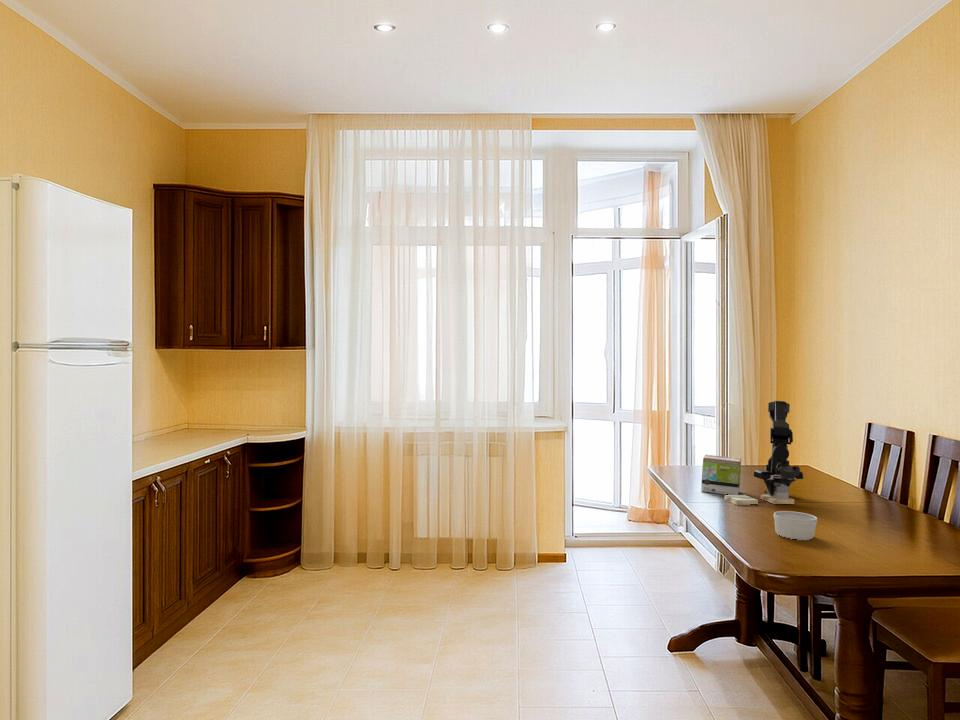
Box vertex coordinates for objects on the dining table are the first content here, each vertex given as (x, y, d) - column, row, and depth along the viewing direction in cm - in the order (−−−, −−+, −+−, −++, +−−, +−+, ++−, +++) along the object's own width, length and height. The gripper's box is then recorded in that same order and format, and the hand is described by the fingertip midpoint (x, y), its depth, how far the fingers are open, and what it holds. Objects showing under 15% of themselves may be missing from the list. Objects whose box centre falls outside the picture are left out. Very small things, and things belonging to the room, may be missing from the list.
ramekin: (766, 530, 243) (767, 509, 243) (806, 531, 243) (807, 511, 243) (781, 541, 230) (782, 519, 230) (823, 543, 230) (824, 521, 229)
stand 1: (724, 499, 288) (724, 495, 288) (744, 499, 290) (745, 494, 290) (736, 505, 279) (736, 500, 279) (757, 505, 281) (757, 499, 281)
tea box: (700, 492, 302) (702, 457, 301) (702, 488, 311) (704, 454, 310) (738, 496, 296) (740, 460, 295) (739, 491, 305) (741, 457, 305)
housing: (766, 495, 290) (767, 482, 290) (777, 495, 291) (778, 482, 291) (777, 499, 283) (777, 486, 283) (788, 499, 284) (789, 486, 284)
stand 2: (760, 499, 291) (760, 494, 291) (780, 499, 293) (780, 494, 293) (773, 504, 282) (774, 499, 282) (794, 504, 284) (794, 499, 284)
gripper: (770, 460, 277) (768, 500, 278) (813, 460, 281) (811, 500, 281) (753, 455, 288) (752, 494, 289) (795, 455, 292) (793, 494, 292)
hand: (777, 495), depth 287 cm, fingers closed on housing, 5 cm apart
